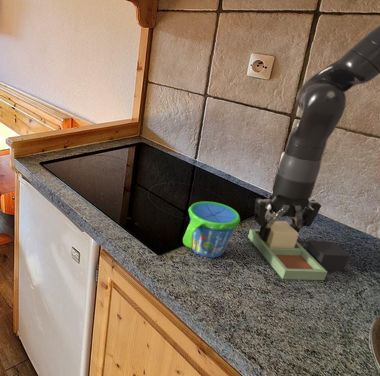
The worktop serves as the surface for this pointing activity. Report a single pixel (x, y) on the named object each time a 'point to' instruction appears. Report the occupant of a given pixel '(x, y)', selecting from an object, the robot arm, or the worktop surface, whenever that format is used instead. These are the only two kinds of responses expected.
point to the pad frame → (289, 260)
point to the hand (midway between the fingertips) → (276, 239)
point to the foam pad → (282, 235)
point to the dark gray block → (328, 254)
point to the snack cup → (210, 228)
